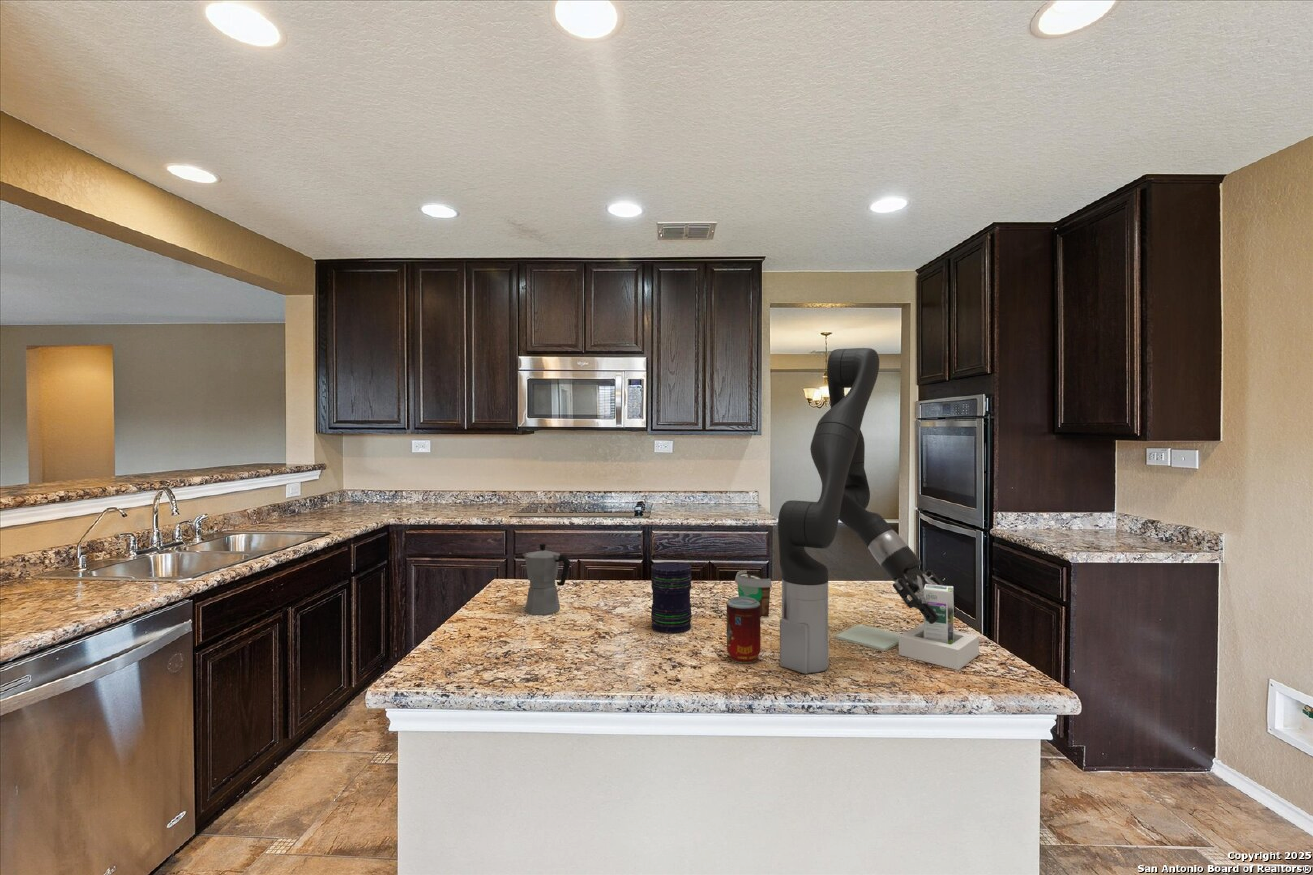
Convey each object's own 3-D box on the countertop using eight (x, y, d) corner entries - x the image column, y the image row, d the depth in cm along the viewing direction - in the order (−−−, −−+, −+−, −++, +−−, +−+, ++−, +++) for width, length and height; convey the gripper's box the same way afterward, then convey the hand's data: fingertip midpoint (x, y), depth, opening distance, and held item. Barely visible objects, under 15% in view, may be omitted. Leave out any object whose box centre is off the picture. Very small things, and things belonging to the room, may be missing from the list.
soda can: (723, 652, 130) (723, 595, 130) (755, 651, 130) (755, 594, 130) (730, 665, 123) (730, 604, 123) (764, 664, 123) (764, 604, 123)
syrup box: (923, 657, 127) (922, 588, 127) (925, 648, 132) (924, 582, 132) (953, 661, 124) (953, 591, 124) (954, 652, 130) (954, 585, 130)
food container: (726, 608, 163) (726, 571, 163) (745, 605, 166) (745, 569, 166) (751, 621, 152) (751, 581, 152) (772, 617, 155) (771, 578, 155)
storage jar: (675, 636, 140) (675, 572, 140) (642, 628, 146) (642, 567, 146) (699, 625, 148) (699, 565, 148) (667, 618, 154) (667, 560, 154)
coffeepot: (511, 612, 160) (511, 544, 160) (534, 603, 169) (534, 539, 169) (558, 620, 153) (558, 549, 153) (580, 610, 162) (580, 543, 161)
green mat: (885, 651, 130) (885, 648, 130) (834, 638, 139) (834, 635, 139) (908, 638, 139) (908, 635, 139) (859, 626, 147) (859, 624, 147)
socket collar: (958, 670, 120) (958, 649, 120) (898, 654, 128) (898, 635, 128) (978, 654, 128) (978, 635, 128) (921, 641, 137) (921, 623, 137)
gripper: (888, 548, 129) (941, 614, 121) (920, 541, 139) (973, 601, 130) (865, 569, 134) (916, 634, 125) (898, 560, 143) (948, 620, 134)
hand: (945, 617), depth 127 cm, fingers open, 8 cm apart
